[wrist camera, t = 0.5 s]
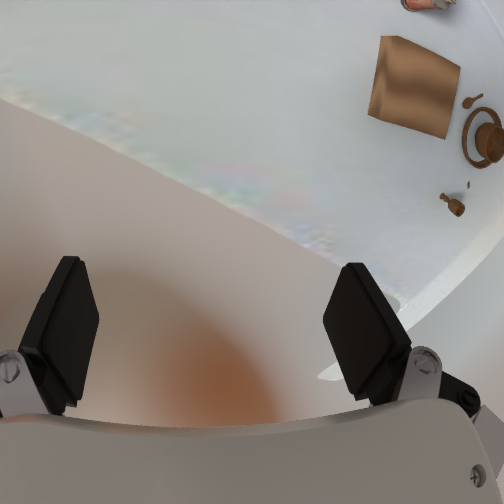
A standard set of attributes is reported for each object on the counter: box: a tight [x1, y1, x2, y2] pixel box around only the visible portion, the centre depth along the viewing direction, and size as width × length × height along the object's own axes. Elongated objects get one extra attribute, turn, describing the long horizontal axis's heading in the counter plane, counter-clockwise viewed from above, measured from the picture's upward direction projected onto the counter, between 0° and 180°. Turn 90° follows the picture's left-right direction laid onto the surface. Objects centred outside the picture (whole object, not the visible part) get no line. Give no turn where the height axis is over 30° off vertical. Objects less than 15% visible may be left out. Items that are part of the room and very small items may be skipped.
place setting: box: [440, 93, 504, 217], centre depth 38 cm, size 18×20×6 cm
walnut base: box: [368, 36, 460, 140], centre depth 32 cm, size 12×12×4 cm
